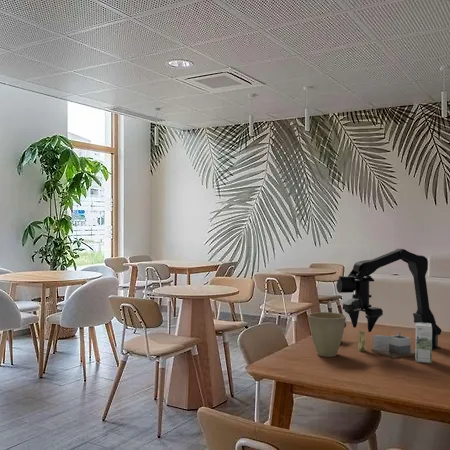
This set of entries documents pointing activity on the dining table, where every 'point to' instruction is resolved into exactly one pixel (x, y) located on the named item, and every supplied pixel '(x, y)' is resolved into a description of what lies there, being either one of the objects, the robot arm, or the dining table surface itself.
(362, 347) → the hinge pin
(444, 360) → the dining table surface
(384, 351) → the hinge
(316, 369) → the dining table surface
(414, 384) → the dining table surface
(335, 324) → the plant pot
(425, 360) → the syrup box
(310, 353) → the dining table surface
